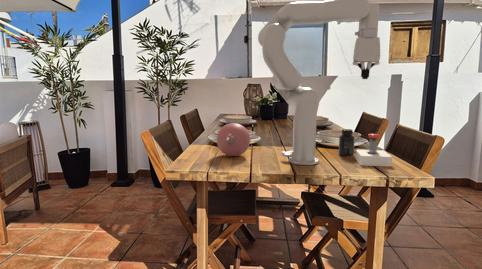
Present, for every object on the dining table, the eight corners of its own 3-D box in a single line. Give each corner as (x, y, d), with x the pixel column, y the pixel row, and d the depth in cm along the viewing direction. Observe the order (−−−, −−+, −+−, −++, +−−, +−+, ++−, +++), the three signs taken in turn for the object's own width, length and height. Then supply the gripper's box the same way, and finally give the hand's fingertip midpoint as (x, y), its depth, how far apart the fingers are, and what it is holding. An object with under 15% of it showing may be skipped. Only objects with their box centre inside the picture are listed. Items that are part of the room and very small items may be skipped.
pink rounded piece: (208, 161, 137) (207, 126, 134) (223, 151, 156) (222, 120, 153) (242, 163, 132) (242, 127, 130) (253, 153, 151) (253, 121, 149)
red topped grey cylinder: (367, 163, 133) (369, 135, 131) (365, 160, 137) (367, 133, 135) (379, 163, 132) (381, 135, 130) (376, 161, 137) (378, 133, 135)
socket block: (360, 165, 130) (360, 155, 129) (355, 158, 142) (355, 149, 141) (391, 166, 128) (392, 157, 127) (383, 159, 140) (384, 150, 139)
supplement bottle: (356, 154, 148) (357, 129, 146) (349, 157, 143) (351, 131, 141) (342, 152, 153) (343, 128, 151) (335, 155, 148) (337, 129, 146)
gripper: (350, 33, 130) (348, 79, 133) (389, 32, 127) (385, 79, 130) (347, 36, 137) (345, 79, 140) (384, 35, 135) (381, 79, 138)
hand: (364, 78), depth 135 cm, fingers closed
